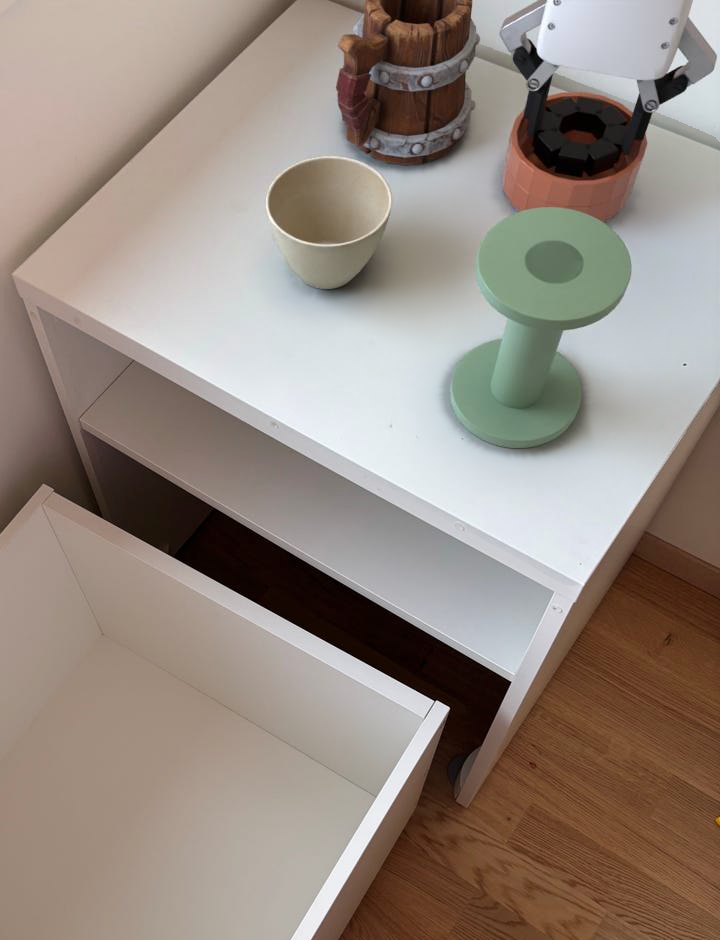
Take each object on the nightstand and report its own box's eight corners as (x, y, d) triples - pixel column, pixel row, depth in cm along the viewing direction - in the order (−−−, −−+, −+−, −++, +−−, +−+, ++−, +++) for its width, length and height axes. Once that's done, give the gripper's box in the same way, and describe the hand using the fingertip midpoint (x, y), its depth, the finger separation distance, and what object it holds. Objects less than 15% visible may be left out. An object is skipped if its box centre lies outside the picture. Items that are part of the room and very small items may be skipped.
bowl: (640, 156, 89) (658, 105, 84) (614, 244, 84) (632, 196, 80) (517, 132, 91) (529, 81, 86) (487, 217, 87) (497, 168, 82)
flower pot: (388, 310, 83) (395, 244, 76) (268, 313, 84) (265, 248, 77) (383, 222, 87) (389, 152, 81) (269, 226, 88) (266, 156, 81)
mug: (505, 112, 91) (518, -40, 77) (401, 219, 90) (395, 84, 76) (408, 57, 95) (403, -97, 81) (306, 159, 94) (284, 20, 80)
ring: (629, 125, 84) (635, 106, 83) (611, 184, 82) (617, 165, 80) (544, 110, 86) (549, 91, 84) (524, 167, 83) (528, 148, 81)
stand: (591, 363, 80) (645, 224, 67) (562, 462, 76) (614, 335, 63) (468, 333, 81) (498, 193, 69) (434, 429, 78) (460, 300, 65)
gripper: (790, -113, 66) (696, 124, 82) (531, -148, 70) (489, 86, 86) (774, -45, 63) (679, 187, 80) (504, -85, 67) (466, 145, 83)
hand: (581, 133), depth 83 cm, fingers closed on ring, 7 cm apart
